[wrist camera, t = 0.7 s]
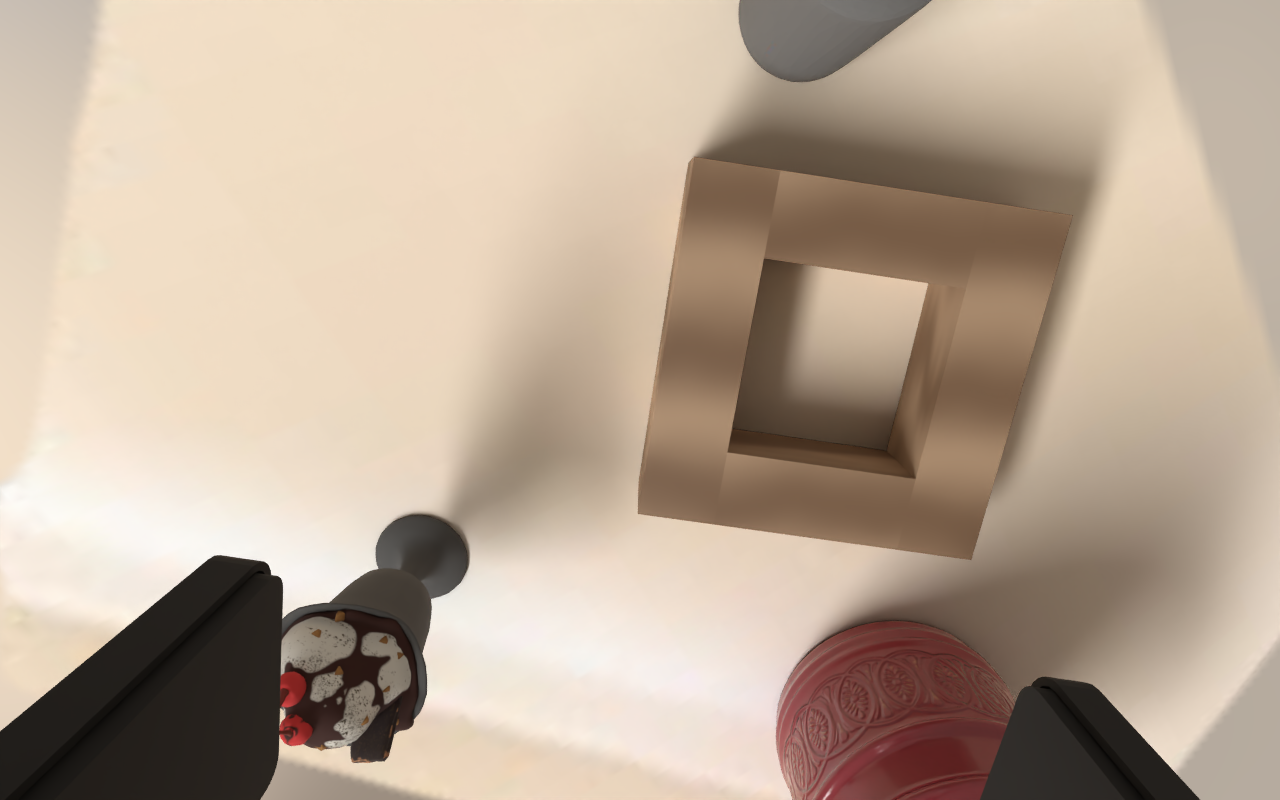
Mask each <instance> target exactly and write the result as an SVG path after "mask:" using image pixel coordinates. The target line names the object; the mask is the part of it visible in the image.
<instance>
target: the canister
mask: <svg viewBox="0 0 1280 800" xmlns="http://www.w3.org/2000/svg"><path fill="white" fill-rule="evenodd" d="M1014 706H1015V702H1014V699H1013V697H1012V695H1011V693H1010V691H1009V689H1008V688H1007V686H1006V685H1005V683H1004V682H1003V680H1002V679H1001V678H1000V677H999V675H998V674H997V673H996V671H995V670H994V669H993V668H992V667H991V665H990V664H989V663H988V662H987V661H986V660H985V659H984V658H983V657H981V656H980V655H979V654H978V653H977V652H975V651H974V650H972V649H971V648H970V647H968V646H967V645H966V644H965V643H963V642H962V641H961V640H959V639H958V638H956V637H955V636H953V635H951V634H949V633H947V632H945V631H943V630H941V629H938V628H935V627H933V626H929V625H926V624H921V623H916V622H909V621H881V622H874V623H869V624H864V625H861V626H857V627H854V628H851V629H848V630H846V631H843V632H841V633H839V634H837V635H835V636H833V637H831V638H829V639H828V640H826V641H824V642H823V643H822V644H820V645H819V646H817V647H816V648H815V649H814V650H812V651H811V652H810V653H809V654H808V655H807V656H806V657H805V658H804V659H803V660H802V661H801V662H800V663H799V664H798V666H797V667H796V668H795V669H794V671H793V672H792V674H791V675H790V677H789V679H788V680H787V682H786V684H785V686H784V689H783V691H782V694H781V697H780V700H779V704H778V710H777V727H776V746H777V753H778V757H779V761H780V766H781V770H782V774H783V777H784V779H785V782H786V784H787V786H788V788H789V790H790V792H791V796H792V800H980V798H981V795H982V792H983V790H984V787H985V784H986V781H987V779H988V776H989V773H990V771H991V768H992V765H993V763H994V760H995V757H996V754H997V752H998V749H999V746H1000V744H1001V741H1002V738H1003V735H1004V733H1005V730H1006V727H1007V725H1008V722H1009V719H1010V716H1011V714H1012V711H1013V708H1014Z"/></svg>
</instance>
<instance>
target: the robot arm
mask: <svg viewBox="0 0 1280 800" xmlns="http://www.w3.org/2000/svg"><path fill="white" fill-rule="evenodd" d="M282 607H283V583H282V580H281V578H280V577H278V576H273V575H271V570H270V568H269V565H268V564H267V563H265V562H263V561H256V560H249V559H242V558H235V557H229V556H222V555H217V556H213V557H212V558H210V559H208V560H207V561H206V562H205V563H203V564H202V565H201V566H200V567H199V568H197V569H196V570H195V571H194V572H193V573H191V574H190V575H189V576H188V577H186V578H185V579H184V580H183V581H182V582H180V583H179V584H178V585H177V586H176V587H174V588H173V589H172V590H171V591H170V592H168V593H167V594H166V595H165V596H163V597H162V598H161V599H160V600H159V601H157V602H156V603H155V604H154V605H153V606H151V607H150V608H149V609H148V610H147V611H145V612H144V613H143V614H142V615H140V616H139V617H138V618H137V619H136V620H134V621H133V622H132V623H131V624H130V625H128V626H127V627H126V628H125V629H124V630H122V631H121V632H120V633H119V634H117V635H116V636H115V637H114V638H113V639H111V640H110V641H109V642H108V643H107V644H105V645H104V646H103V647H102V648H101V649H99V650H98V651H97V652H96V653H94V654H93V655H92V656H91V657H90V658H88V659H87V660H86V661H85V662H84V663H82V664H81V665H80V666H79V667H78V668H76V669H75V670H74V671H73V672H71V673H70V674H69V675H68V676H67V677H65V678H64V679H63V680H62V681H61V682H59V683H58V684H57V685H56V686H55V687H53V688H52V689H51V690H50V691H48V692H47V693H46V694H45V695H44V696H42V697H41V698H40V699H39V700H38V701H36V702H35V703H34V704H33V705H32V706H30V707H29V708H28V709H27V710H25V711H24V712H23V713H22V714H21V715H20V716H19V717H17V718H16V719H15V720H13V721H12V722H11V723H10V724H9V725H8V726H6V727H5V728H4V729H2V730H1V731H0V800H260V799H261V797H262V796H263V794H264V793H265V791H266V790H267V788H268V786H269V784H270V782H271V780H272V777H273V775H274V772H275V769H276V765H277V761H278V755H279V724H280V685H281V646H282ZM980 800H1200V799H1199V798H1198V797H1197V796H1196V795H1195V794H1194V793H1193V792H1192V790H1191V789H1190V788H1189V787H1188V786H1187V785H1186V784H1185V783H1184V782H1183V781H1182V780H1181V779H1180V777H1179V776H1178V775H1177V774H1176V773H1175V772H1174V771H1173V770H1172V769H1171V768H1170V767H1169V765H1168V764H1167V763H1166V762H1165V761H1164V760H1163V759H1162V758H1161V757H1160V756H1159V755H1158V754H1157V752H1156V751H1155V750H1154V749H1153V748H1152V747H1151V746H1150V745H1149V744H1148V743H1147V742H1146V741H1145V739H1144V738H1143V737H1142V736H1141V735H1140V734H1139V733H1138V732H1137V731H1136V730H1135V729H1134V728H1133V726H1132V725H1131V724H1130V723H1129V722H1128V721H1127V720H1126V719H1125V718H1124V717H1123V716H1122V715H1121V713H1120V712H1119V711H1118V710H1117V709H1116V708H1115V707H1114V706H1113V705H1112V704H1111V703H1110V702H1109V700H1108V699H1107V698H1106V697H1105V696H1104V695H1103V694H1102V693H1101V692H1100V691H1099V690H1098V689H1097V688H1096V687H1094V686H1093V685H1091V684H1088V683H1085V682H1078V681H1071V680H1064V679H1057V678H1051V677H1041V678H1038V679H1037V680H1036V681H1034V682H1033V684H1032V686H1029V687H1025V688H1023V689H1022V690H1021V692H1020V693H1019V695H1018V698H1017V700H1016V703H1015V706H1014V708H1013V711H1012V714H1011V716H1010V719H1009V722H1008V725H1007V727H1006V730H1005V733H1004V735H1003V738H1002V741H1001V744H1000V746H999V749H998V752H997V754H996V757H995V760H994V763H993V765H992V768H991V771H990V773H989V776H988V779H987V781H986V784H985V787H984V790H983V792H982V795H981V798H980Z"/></svg>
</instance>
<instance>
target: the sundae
mask: <svg viewBox="0 0 1280 800" xmlns="http://www.w3.org/2000/svg"><path fill="white" fill-rule="evenodd" d="M376 562H377V566H378V568H379V569H377V570H373V571H369V572H367V573H366V574H364V575H363V576H361V577H360V578H358V579H357V580H355V581H354V582H352V583H351V584H350V585H349V586H347V587H346V588H345V589H344V590H343V591H342V592H341V593H340V594H339V595H337V596H336V597H335V598H334V599H333V600H332V601H331V602H330V603H320V604H314V605H308V606H304V607H300V608H297V609H296V610H294V611H292V612H290V613H289V614H287V615H286V616H285V617H284V618H283V619H282V646H281V685H280V708H281V709H282V710H284V715H285V719H284V720H283V721H282V723H281V725H280V730H279V735H280V737H281V739H282V740H283V742H284V743H285V744H287V745H289V746H296V745H302V744H304V745H306V746H308V747H311V748H318V749H319V750H321V751H322V750H324V749H331V748H340V747H343V746H351V759H352V762H353V763H370V762H375V761H385V760H386V759H387V758H388V756H389V753H390V749H391V745H392V741H393V737H394V734H396V733H397V732H399V731H402V730H407V729H409V728H411V727H412V726H413V723H414V719H415V718H416V716H417V715H418V714H419V713H420V711H421V709H422V707H423V705H424V701H425V698H426V695H427V674H426V665H425V661H424V658H423V654H422V653H423V649H424V646H425V642H426V639H427V635H428V632H429V628H430V620H431V609H432V606H431V599H432V598H436V597H440V596H442V595H445V594H447V593H449V592H450V591H452V590H453V589H454V588H455V587H456V586H457V585H458V584H459V583H460V582H461V580H462V579H463V577H464V574H465V572H466V569H467V551H466V549H465V546H464V544H463V542H462V540H461V538H460V536H459V535H458V534H457V533H456V532H455V531H454V530H453V529H452V528H451V527H450V526H448V525H447V524H446V523H444V522H442V521H440V520H437V519H435V518H432V517H429V516H408V517H404V518H401V519H399V520H396V521H394V522H393V523H392V524H390V525H389V526H388V527H387V528H386V529H385V530H384V531H383V532H382V533H381V535H380V538H379V540H378V542H377V545H376Z"/></svg>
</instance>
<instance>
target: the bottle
mask: <svg viewBox="0 0 1280 800" xmlns="http://www.w3.org/2000/svg"><path fill="white" fill-rule="evenodd" d="M930 1H931V0H740V3H739V24H740V30H741V34H742V37H743V40H744V43H745V45H746V47H747V49H748V51H749V53H750V54H751V56H752V57H753V59H754V60H755V61H756V62H757V63H758V64H759V65H760V66H761V67H762V68H763V69H764V70H766V71H767V72H769V73H770V74H772V75H774V76H776V77H778V78H780V79H784V80H787V81H793V82H807V81H813V80H817V79H820V78H823V77H826V76H828V75H830V74H832V73H834V72H835V71H837V70H838V69H840V68H842V67H843V66H845V65H846V64H847V63H849V62H850V61H852V60H853V59H855V58H856V57H857V56H859V55H860V54H862V53H863V52H864V51H866V50H867V49H868V48H870V47H871V46H872V45H874V44H875V43H876V42H878V41H879V40H880V39H882V38H883V37H884V36H886V35H887V34H889V33H890V32H891V31H893V30H894V29H895V28H897V27H898V26H899V25H901V24H902V23H903V22H905V21H906V20H907V19H909V18H910V17H911V16H913V15H914V14H915V13H917V12H918V11H919V10H920V9H922V8H923V7H924V6H925V5H927V4H928V3H929V2H930Z"/></svg>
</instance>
